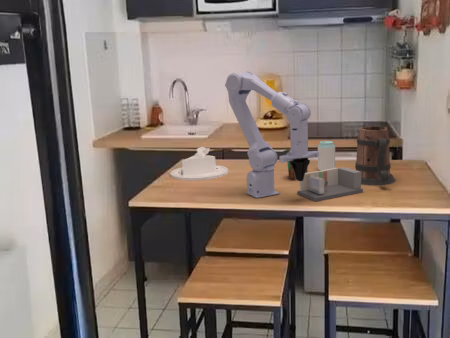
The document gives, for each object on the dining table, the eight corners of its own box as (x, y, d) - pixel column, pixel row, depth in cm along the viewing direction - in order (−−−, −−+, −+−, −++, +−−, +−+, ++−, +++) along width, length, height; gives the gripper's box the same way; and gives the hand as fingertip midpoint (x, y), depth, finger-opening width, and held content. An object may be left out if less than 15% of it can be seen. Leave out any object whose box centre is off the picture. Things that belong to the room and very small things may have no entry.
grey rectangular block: (319, 194, 172) (319, 178, 171) (306, 189, 179) (306, 174, 178) (332, 191, 175) (332, 176, 173) (319, 187, 181) (319, 172, 180)
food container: (296, 173, 210) (295, 149, 208) (309, 174, 207) (309, 150, 204) (279, 179, 201) (279, 154, 199) (293, 181, 197) (292, 156, 195)
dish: (201, 165, 236) (200, 141, 233) (240, 172, 218) (239, 146, 215) (158, 175, 219) (156, 150, 216) (197, 184, 201) (195, 156, 199)
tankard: (345, 175, 202) (345, 125, 198) (387, 173, 202) (388, 123, 198) (361, 191, 179) (361, 135, 175) (408, 189, 179) (410, 132, 175)
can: (316, 171, 211) (316, 143, 208) (319, 168, 217) (319, 140, 214) (333, 172, 208) (333, 143, 205) (336, 168, 215) (336, 140, 212)
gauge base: (315, 201, 170) (315, 180, 168) (297, 194, 180) (296, 174, 178) (362, 192, 178) (363, 172, 176) (342, 185, 188) (343, 166, 186)
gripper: (287, 145, 163) (288, 186, 166) (324, 139, 169) (324, 179, 172) (275, 142, 169) (276, 181, 172) (311, 137, 175) (312, 175, 178)
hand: (299, 180), depth 172 cm, fingers closed
